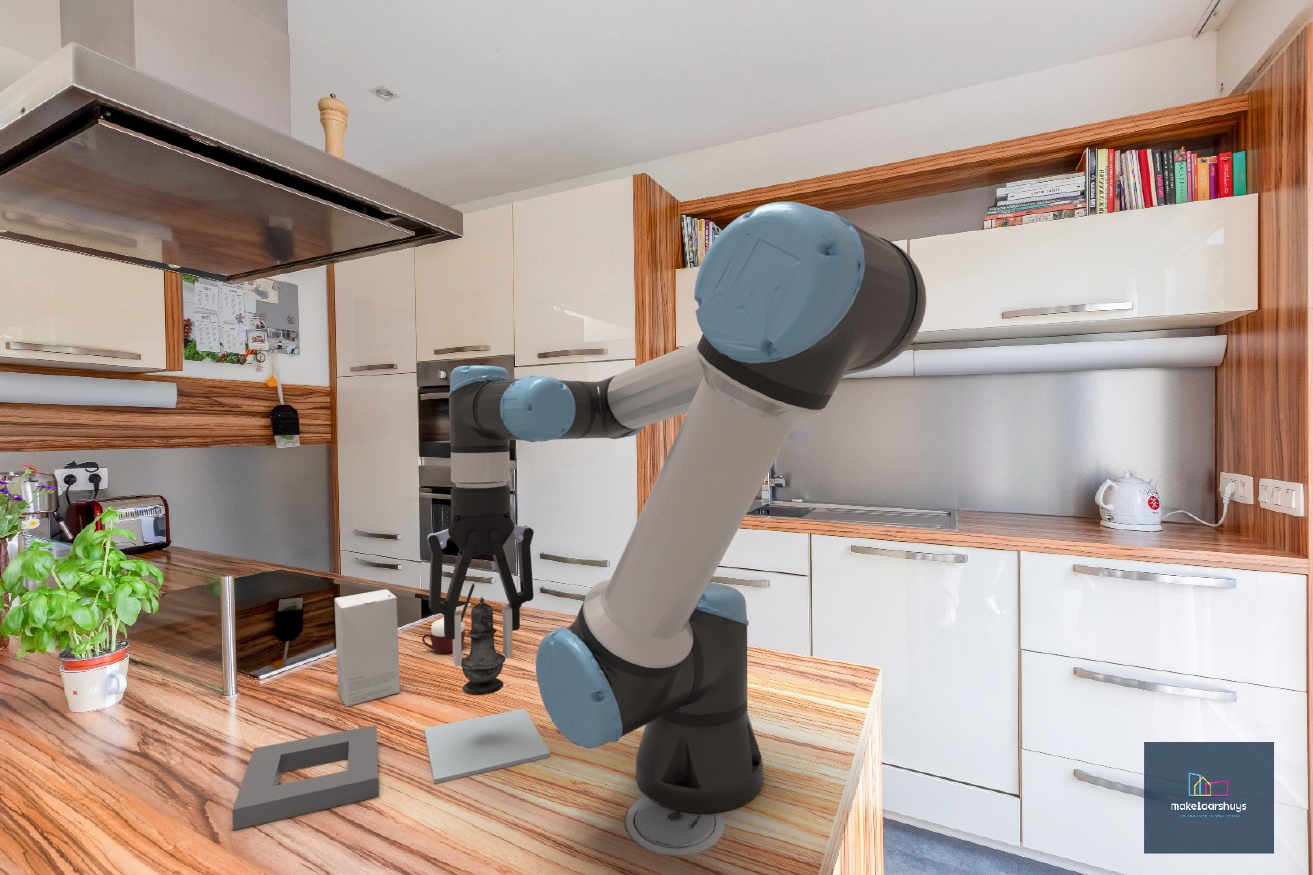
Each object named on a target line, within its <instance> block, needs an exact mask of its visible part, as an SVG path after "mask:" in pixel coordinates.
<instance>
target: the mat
mask: <svg viewBox="0 0 1313 875" xmlns="http://www.w3.org/2000/svg"><path fill="white" fill-rule="evenodd" d="M423 730H424V737H425V743H426V749H427V752H428V758H429V765H430V768H431V774H432V775H431V776H432V780H433V785H434V784H435V785H436V784H439V783H444V782H449V781H451V780H452V781H453V780H456V779H460V778H466V777H470V776H474V775H478V774H481V773H486V772H491V771H495V770H496V771H497V770H499V769H503V768H504V769H505V768H508V767H512V766H513V767H514V766H516V765H517V766H518V765H522V764H525V763H529V762H533V761H538V760H543V759H547V758H550V757H551V752H550V750H549V748H548V747H547V745H546V743H545V741H544V740H543V738H542V736H541V734H540V732H539V731H538V729H537V727H536V726H535V723H534V722H533V720H532V718H531V717H530V714H529V713H528V711H527V710H526V708H520V709H515V710H510V711H505V712H501V713H496V714H490V715H486V716H481V717H476V718H475V717H474V718H469V719H465V720H459V721H453V722H449V723H445V724H440V725H435V726H428V727H424V728H423Z"/></svg>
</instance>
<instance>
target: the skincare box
mask: <svg viewBox="0 0 1313 875" xmlns="http://www.w3.org/2000/svg"><path fill="white" fill-rule="evenodd" d="M334 616H335V617H334V621H335V622H334V623H335V644H336V668H337V669H336V674H337V676H336V677H337V693H338V695H339V697H340V699H341V700H342V702H343V704H344V706H345V707H346V708H347V707H351V706H354V705H358V704H362V703H366V702H369V701H373V700H377V699H381V698H383V697H388V696H391V695H395V694H399V693H400V692H401V682H400V677H401V675H400V655H399V632H398V629H399V628H398V626H399V625H398V597H397V596H396V595H395V594H393V593H392V592H391V591H390V590H388V589H379V590H374V591H368V592H363V593H358V594H351V595H346V596H340V597H335V598H334Z"/></svg>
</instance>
